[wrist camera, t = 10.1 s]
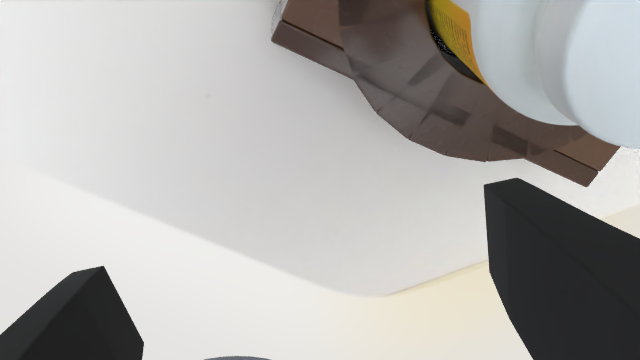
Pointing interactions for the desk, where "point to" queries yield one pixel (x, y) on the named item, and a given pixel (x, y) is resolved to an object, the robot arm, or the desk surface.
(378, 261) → the desk surface
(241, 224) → the desk surface
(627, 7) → the supplement bottle
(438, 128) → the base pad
